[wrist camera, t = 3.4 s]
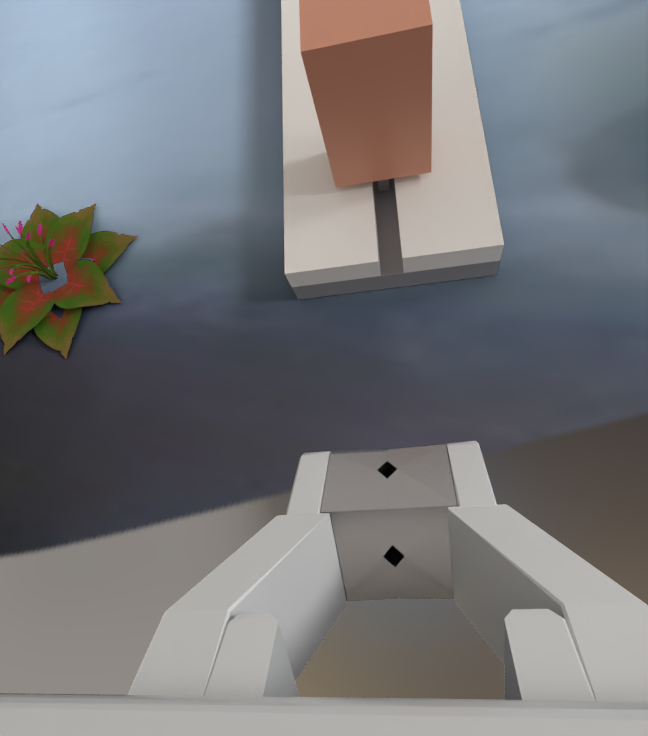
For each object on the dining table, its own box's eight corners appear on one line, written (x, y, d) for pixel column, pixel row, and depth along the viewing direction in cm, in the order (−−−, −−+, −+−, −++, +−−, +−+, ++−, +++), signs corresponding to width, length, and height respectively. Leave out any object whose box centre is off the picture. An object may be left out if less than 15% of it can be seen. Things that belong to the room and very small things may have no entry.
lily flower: (172, 228, 33) (134, 182, 29) (78, 392, 30) (21, 368, 26) (40, 187, 37) (-11, 141, 33) (-54, 331, 34) (-123, 300, 30)
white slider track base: (432, -100, 38) (432, -153, 35) (496, 275, 27) (504, 243, 24) (290, -65, 40) (279, -112, 37) (298, 299, 29) (283, 272, 26)
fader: (425, 150, 29) (424, -31, 20) (431, 194, 28) (432, 24, 19) (338, 165, 29) (298, -3, 20) (341, 208, 28) (300, 52, 19)
